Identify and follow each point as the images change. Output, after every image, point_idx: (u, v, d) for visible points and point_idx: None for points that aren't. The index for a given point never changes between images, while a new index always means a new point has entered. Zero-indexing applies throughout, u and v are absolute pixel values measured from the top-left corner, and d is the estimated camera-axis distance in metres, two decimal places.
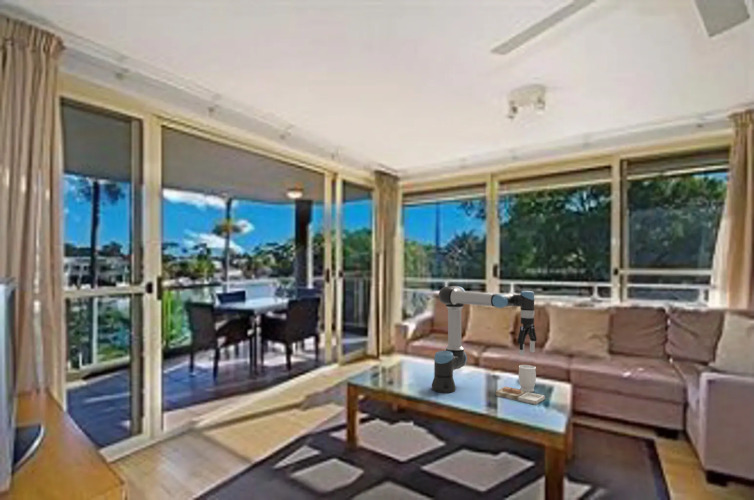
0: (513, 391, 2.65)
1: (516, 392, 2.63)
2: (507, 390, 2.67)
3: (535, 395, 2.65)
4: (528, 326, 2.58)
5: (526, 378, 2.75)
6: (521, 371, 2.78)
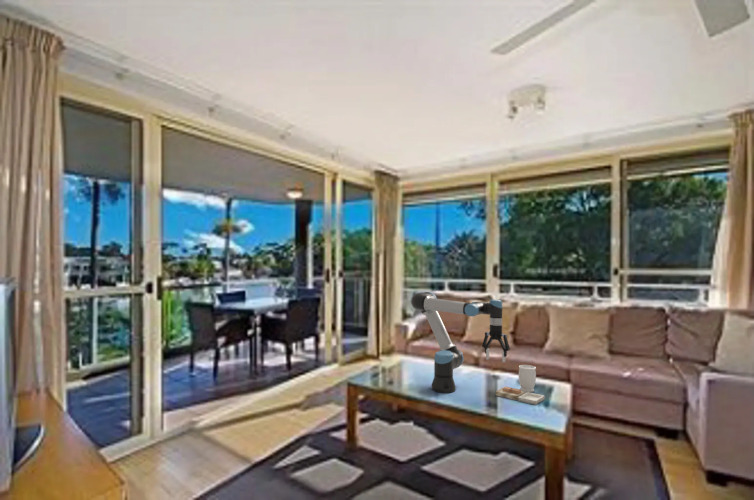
0: (513, 391, 2.65)
1: (516, 392, 2.63)
2: (507, 390, 2.67)
3: (535, 395, 2.65)
4: (493, 333, 2.75)
5: (526, 378, 2.75)
6: (521, 371, 2.78)
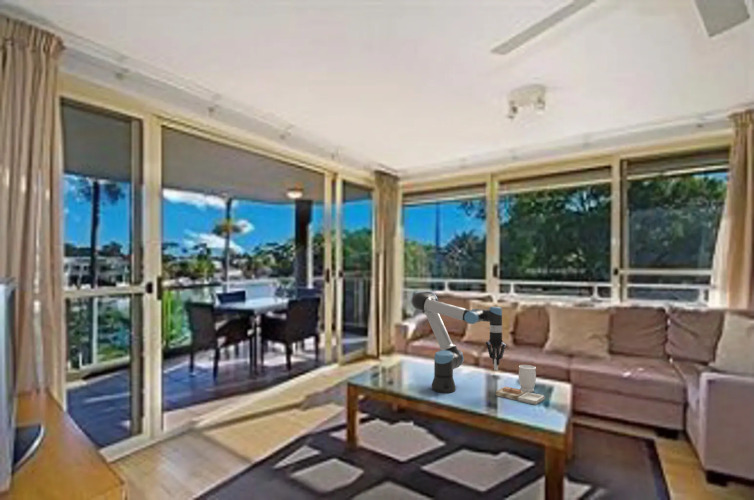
0: (513, 391, 2.65)
1: (516, 392, 2.63)
2: (507, 390, 2.67)
3: (535, 395, 2.65)
4: (493, 340, 2.75)
5: (526, 378, 2.75)
6: (521, 371, 2.78)
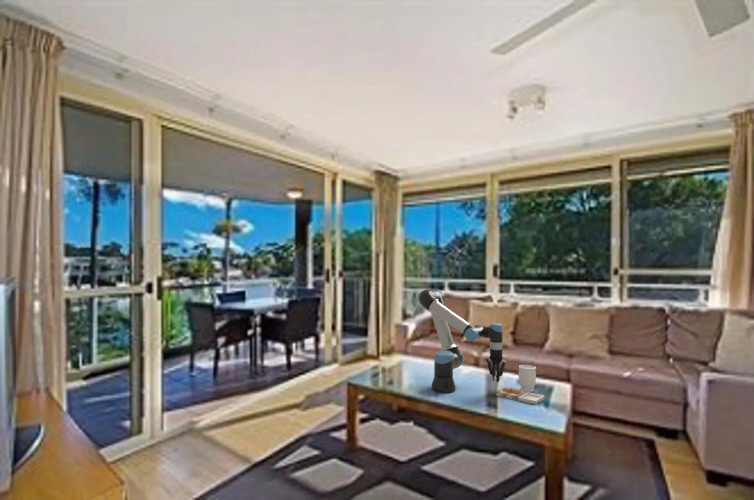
0: (513, 391, 2.65)
1: (516, 392, 2.63)
2: (507, 390, 2.67)
3: (535, 395, 2.65)
4: (494, 357, 2.75)
5: (526, 378, 2.75)
6: (521, 371, 2.78)
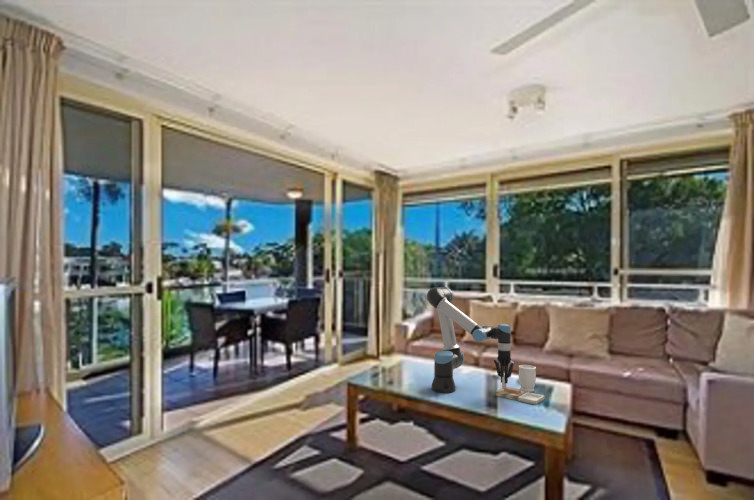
0: (513, 391, 2.65)
1: (516, 392, 2.63)
2: (508, 390, 2.67)
3: (535, 395, 2.65)
4: (502, 358, 2.71)
5: (526, 378, 2.75)
6: (521, 371, 2.78)
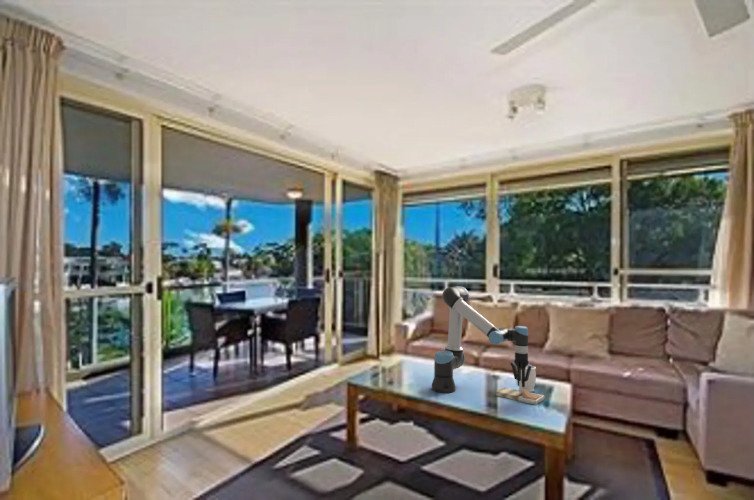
0: (533, 399, 2.57)
1: (529, 398, 2.58)
2: (525, 396, 2.60)
3: (535, 395, 2.65)
4: (519, 361, 2.64)
5: None
6: (521, 371, 2.78)
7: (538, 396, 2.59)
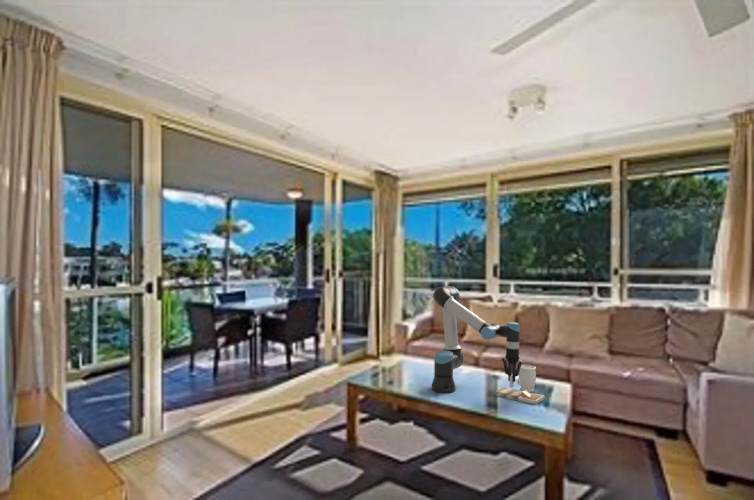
0: (533, 399, 2.57)
1: (530, 398, 2.58)
2: (525, 396, 2.60)
3: (535, 395, 2.65)
4: (510, 356, 2.68)
5: (526, 378, 2.75)
6: (521, 371, 2.78)
7: None
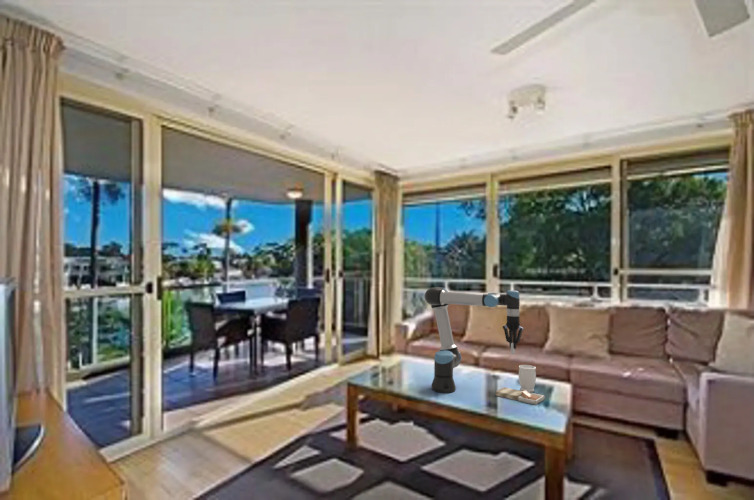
0: (533, 399, 2.57)
1: (530, 398, 2.58)
2: (525, 396, 2.60)
3: (535, 395, 2.65)
4: (510, 323, 2.73)
5: (526, 378, 2.75)
6: (521, 371, 2.78)
7: None
